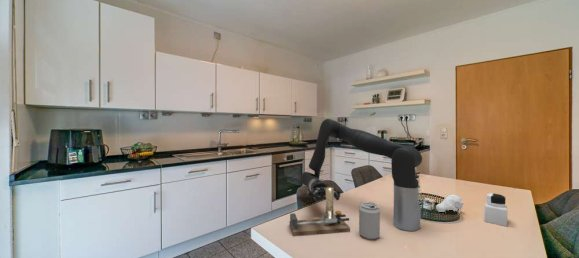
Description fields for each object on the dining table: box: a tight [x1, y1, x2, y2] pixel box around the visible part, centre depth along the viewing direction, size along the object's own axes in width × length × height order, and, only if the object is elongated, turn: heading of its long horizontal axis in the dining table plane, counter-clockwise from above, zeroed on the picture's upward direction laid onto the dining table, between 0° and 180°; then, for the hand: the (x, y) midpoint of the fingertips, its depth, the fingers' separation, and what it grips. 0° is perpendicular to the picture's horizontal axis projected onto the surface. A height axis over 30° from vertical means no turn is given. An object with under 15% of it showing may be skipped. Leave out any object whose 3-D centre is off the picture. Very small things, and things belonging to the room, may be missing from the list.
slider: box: [321, 186, 350, 223], centre depth 92 cm, size 10×4×14 cm, turn 99°
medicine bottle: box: [483, 192, 508, 227], centre depth 97 cm, size 7×7×12 cm
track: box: [289, 210, 351, 237], centre depth 91 cm, size 23×10×6 cm, turn 99°
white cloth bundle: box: [435, 194, 464, 214], centre depth 107 cm, size 6×8×12 cm
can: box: [358, 201, 381, 241], centre depth 85 cm, size 8×8×12 cm
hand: (328, 198), depth 94 cm, fingers open, 8 cm apart
